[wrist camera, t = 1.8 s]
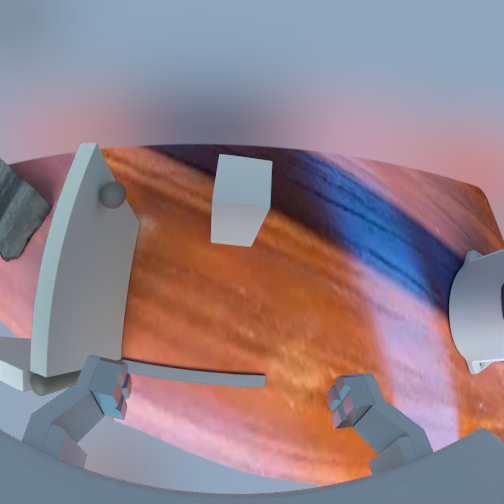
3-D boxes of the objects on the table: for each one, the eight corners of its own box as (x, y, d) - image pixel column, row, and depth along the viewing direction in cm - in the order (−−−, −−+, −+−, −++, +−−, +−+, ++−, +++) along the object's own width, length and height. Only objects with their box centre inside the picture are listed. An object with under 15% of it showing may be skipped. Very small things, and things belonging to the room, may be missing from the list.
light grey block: (253, 210, 29) (272, 161, 20) (251, 247, 27) (269, 207, 19) (215, 206, 28) (219, 154, 20) (210, 242, 27) (212, 200, 18)
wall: (265, 375, 24) (323, 415, 11) (264, 387, 24) (320, 437, 10) (45, 339, 21) (-50, 330, 8) (44, 350, 21) (-50, 348, 8)
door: (113, 221, 25) (59, 144, 13) (156, 225, 26) (122, 142, 14) (92, 365, 21) (8, 381, 9) (137, 375, 22) (75, 409, 9)
